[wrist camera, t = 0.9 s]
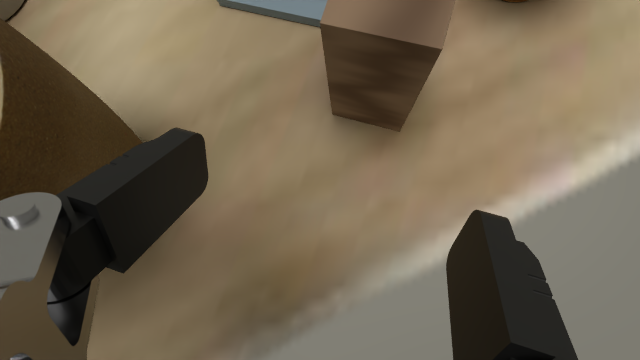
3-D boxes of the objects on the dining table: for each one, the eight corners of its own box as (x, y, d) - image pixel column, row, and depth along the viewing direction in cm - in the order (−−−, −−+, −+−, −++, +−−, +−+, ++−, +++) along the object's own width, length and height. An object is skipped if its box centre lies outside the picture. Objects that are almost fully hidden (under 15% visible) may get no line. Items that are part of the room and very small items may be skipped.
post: (332, 114, 27) (320, 23, 15) (351, 53, 28) (353, -79, 16) (399, 131, 26) (442, 49, 14) (417, 68, 27) (471, -60, 15)
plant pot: (19, 174, 29) (-379, 107, 13) (146, 78, 29) (-92, -101, 13) (95, 308, 26) (-295, 428, 10) (233, 198, 26) (64, 152, 11)
